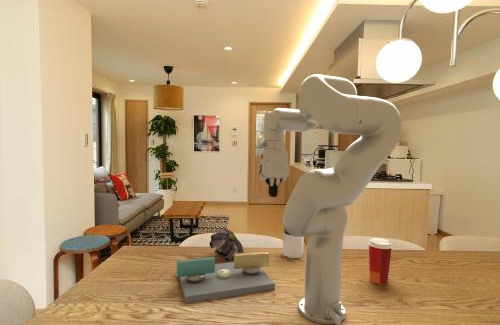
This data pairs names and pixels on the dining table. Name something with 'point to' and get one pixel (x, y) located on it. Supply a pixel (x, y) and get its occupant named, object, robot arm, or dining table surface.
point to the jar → (292, 245)
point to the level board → (225, 284)
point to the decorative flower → (226, 243)
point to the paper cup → (379, 260)
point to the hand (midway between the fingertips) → (272, 196)
